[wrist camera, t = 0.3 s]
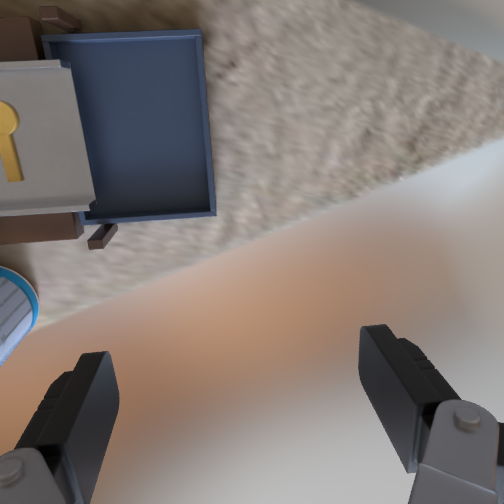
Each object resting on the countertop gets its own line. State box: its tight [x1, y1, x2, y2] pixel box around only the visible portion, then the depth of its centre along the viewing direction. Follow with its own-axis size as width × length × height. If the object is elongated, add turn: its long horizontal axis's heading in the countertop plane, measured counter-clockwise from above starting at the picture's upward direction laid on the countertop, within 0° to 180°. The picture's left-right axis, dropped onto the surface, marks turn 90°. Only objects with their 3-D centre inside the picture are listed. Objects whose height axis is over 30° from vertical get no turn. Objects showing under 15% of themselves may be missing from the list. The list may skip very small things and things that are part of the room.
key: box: [0, 101, 22, 182], centre depth 31 cm, size 6×3×1 cm, turn 3°
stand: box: [0, 6, 118, 250], centre depth 32 cm, size 17×13×5 cm
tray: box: [41, 28, 216, 226], centre depth 34 cm, size 15×12×2 cm
